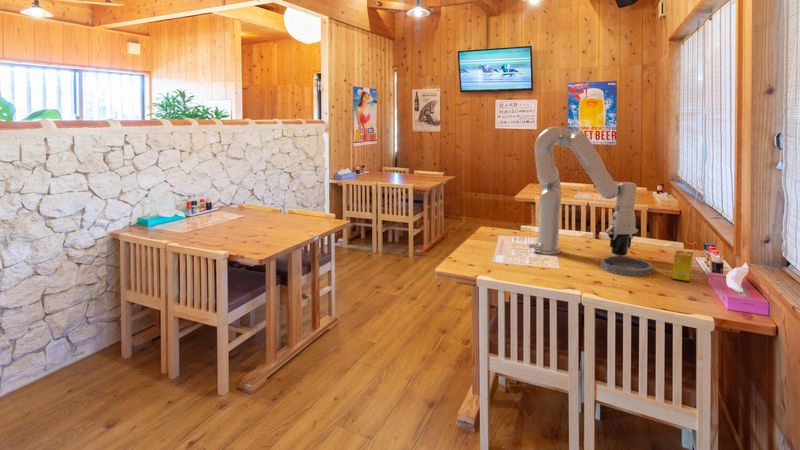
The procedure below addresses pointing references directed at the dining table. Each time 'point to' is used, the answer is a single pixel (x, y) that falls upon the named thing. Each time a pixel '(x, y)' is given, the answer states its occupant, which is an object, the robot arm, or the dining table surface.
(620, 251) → the supplement bottle
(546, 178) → the robot arm
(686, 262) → the supplement box
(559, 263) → the dining table surface
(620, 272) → the round tray
